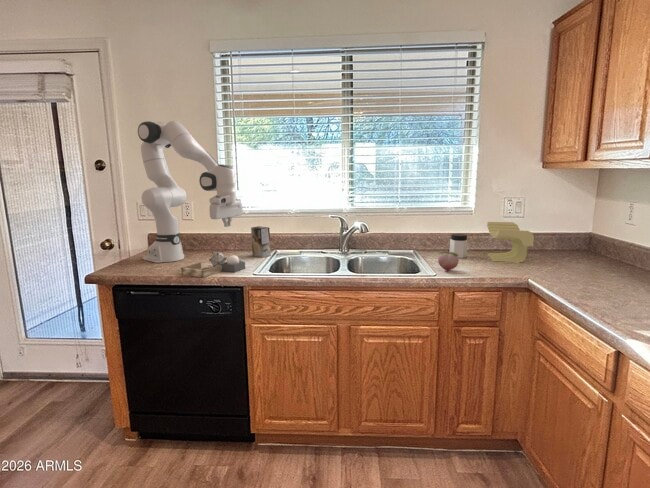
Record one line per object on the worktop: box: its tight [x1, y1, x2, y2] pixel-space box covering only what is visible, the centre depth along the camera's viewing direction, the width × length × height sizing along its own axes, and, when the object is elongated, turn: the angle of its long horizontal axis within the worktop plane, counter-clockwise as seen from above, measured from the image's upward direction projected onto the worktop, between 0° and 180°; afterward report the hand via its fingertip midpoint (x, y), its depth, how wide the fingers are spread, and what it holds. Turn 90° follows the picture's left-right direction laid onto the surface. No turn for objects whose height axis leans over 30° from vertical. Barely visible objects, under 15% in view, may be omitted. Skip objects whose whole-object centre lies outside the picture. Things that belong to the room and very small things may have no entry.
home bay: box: [180, 262, 222, 278], centre depth 182 cm, size 14×12×3 cm
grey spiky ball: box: [208, 250, 228, 267], centre depth 192 cm, size 9×8×10 cm
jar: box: [449, 233, 469, 259], centre depth 210 cm, size 9×8×12 cm
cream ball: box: [226, 254, 240, 265], centre depth 187 cm, size 6×6×7 cm
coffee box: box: [250, 225, 272, 258], centre depth 217 cm, size 9×6×16 cm
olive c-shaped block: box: [486, 221, 535, 263], centre depth 202 cm, size 30×16×18 cm, turn 167°
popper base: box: [221, 260, 246, 273], centre depth 187 cm, size 8×8×4 cm
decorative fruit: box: [437, 249, 459, 272], centre depth 181 cm, size 9×8×10 cm
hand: (227, 226), depth 192 cm, fingers closed
